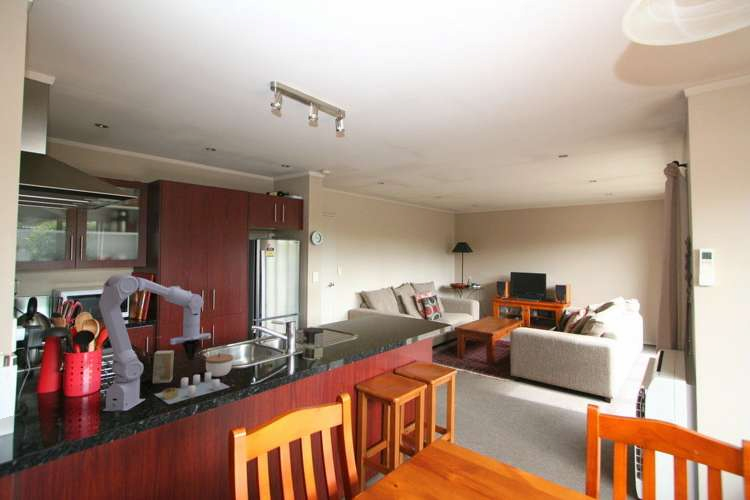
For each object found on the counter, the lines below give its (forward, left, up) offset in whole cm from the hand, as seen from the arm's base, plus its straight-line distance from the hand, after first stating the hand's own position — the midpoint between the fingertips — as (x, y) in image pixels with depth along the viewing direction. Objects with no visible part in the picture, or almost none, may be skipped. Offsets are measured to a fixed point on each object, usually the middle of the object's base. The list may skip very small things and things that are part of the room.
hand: (190, 359), depth 141 cm
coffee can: (+45, -39, -11) cm, 61 cm away
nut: (-12, +1, -10) cm, 15 cm away
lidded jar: (+14, -5, -11) cm, 18 cm away
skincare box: (+4, +13, -11) cm, 17 cm away
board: (-5, -4, -10) cm, 12 cm away
